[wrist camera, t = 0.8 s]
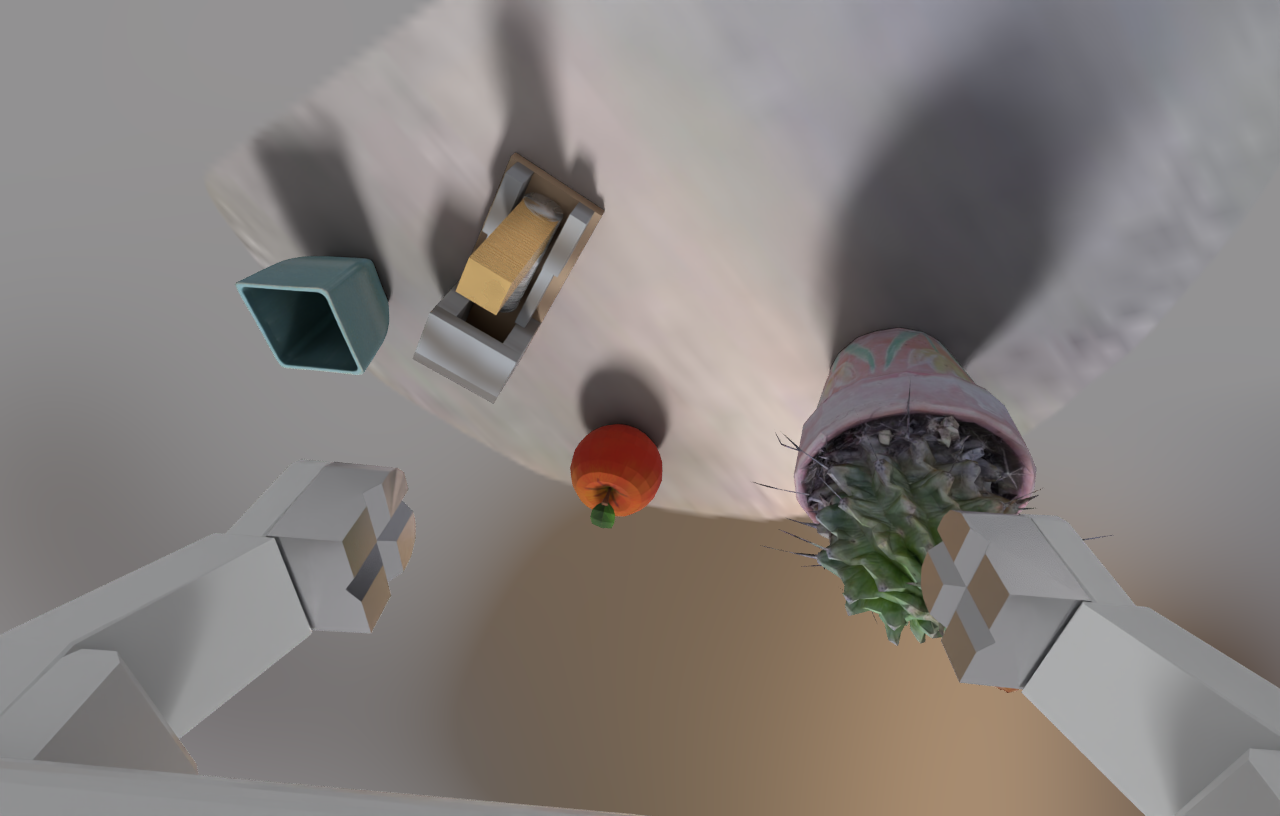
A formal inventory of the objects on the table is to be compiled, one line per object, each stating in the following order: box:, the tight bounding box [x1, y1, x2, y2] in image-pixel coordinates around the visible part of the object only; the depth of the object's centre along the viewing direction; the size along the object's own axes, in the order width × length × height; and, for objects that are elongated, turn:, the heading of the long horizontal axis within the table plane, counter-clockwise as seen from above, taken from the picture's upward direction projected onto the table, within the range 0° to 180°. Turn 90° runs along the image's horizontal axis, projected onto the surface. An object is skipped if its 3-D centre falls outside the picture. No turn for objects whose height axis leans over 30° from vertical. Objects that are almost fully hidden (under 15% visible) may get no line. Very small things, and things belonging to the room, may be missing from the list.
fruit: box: [570, 424, 662, 528], centre depth 60 cm, size 10×10×10 cm
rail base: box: [413, 152, 604, 404], centre depth 49 cm, size 18×8×7 cm, turn 150°
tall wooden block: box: [456, 193, 563, 315], centre depth 44 cm, size 10×3×12 cm, turn 150°
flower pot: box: [235, 256, 389, 375], centre depth 53 cm, size 9×9×9 cm
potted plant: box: [750, 328, 1100, 693], centre depth 42 cm, size 18×20×25 cm
